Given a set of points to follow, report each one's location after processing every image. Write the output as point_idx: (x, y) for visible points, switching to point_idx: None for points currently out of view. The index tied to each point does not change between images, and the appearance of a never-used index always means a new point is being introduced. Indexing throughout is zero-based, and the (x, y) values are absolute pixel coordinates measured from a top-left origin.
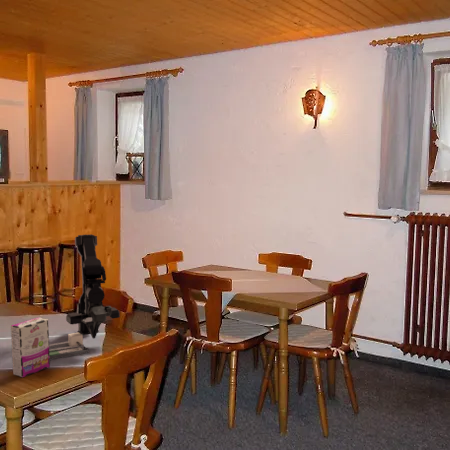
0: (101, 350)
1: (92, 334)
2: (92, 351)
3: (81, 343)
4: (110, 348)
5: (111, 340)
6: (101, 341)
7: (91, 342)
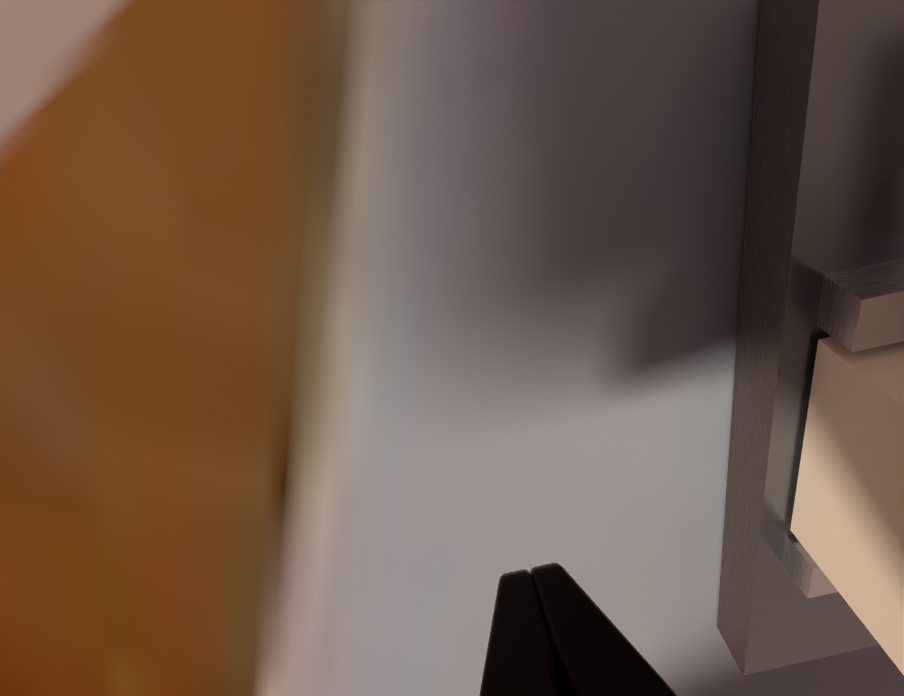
0: (378, 69)
1: (627, 654)
2: (624, 71)
3: (897, 365)
4: (111, 160)
5: (122, 633)
6: (317, 617)
7: None
